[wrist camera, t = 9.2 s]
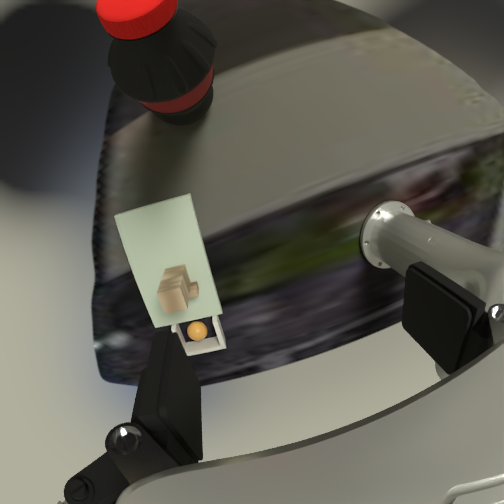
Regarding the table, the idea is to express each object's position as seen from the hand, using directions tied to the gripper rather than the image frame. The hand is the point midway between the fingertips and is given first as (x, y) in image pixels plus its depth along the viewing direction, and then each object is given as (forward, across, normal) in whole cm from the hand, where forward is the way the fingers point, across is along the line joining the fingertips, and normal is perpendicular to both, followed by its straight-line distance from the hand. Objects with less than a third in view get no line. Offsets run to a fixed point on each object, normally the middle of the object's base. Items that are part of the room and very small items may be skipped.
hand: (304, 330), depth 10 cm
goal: (+33, +11, +21) cm, 41 cm away
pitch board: (+33, +12, +8) cm, 36 cm away
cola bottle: (+34, +4, -16) cm, 37 cm away
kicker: (+32, +11, +10) cm, 35 cm away
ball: (+32, +11, +20) cm, 39 cm away
